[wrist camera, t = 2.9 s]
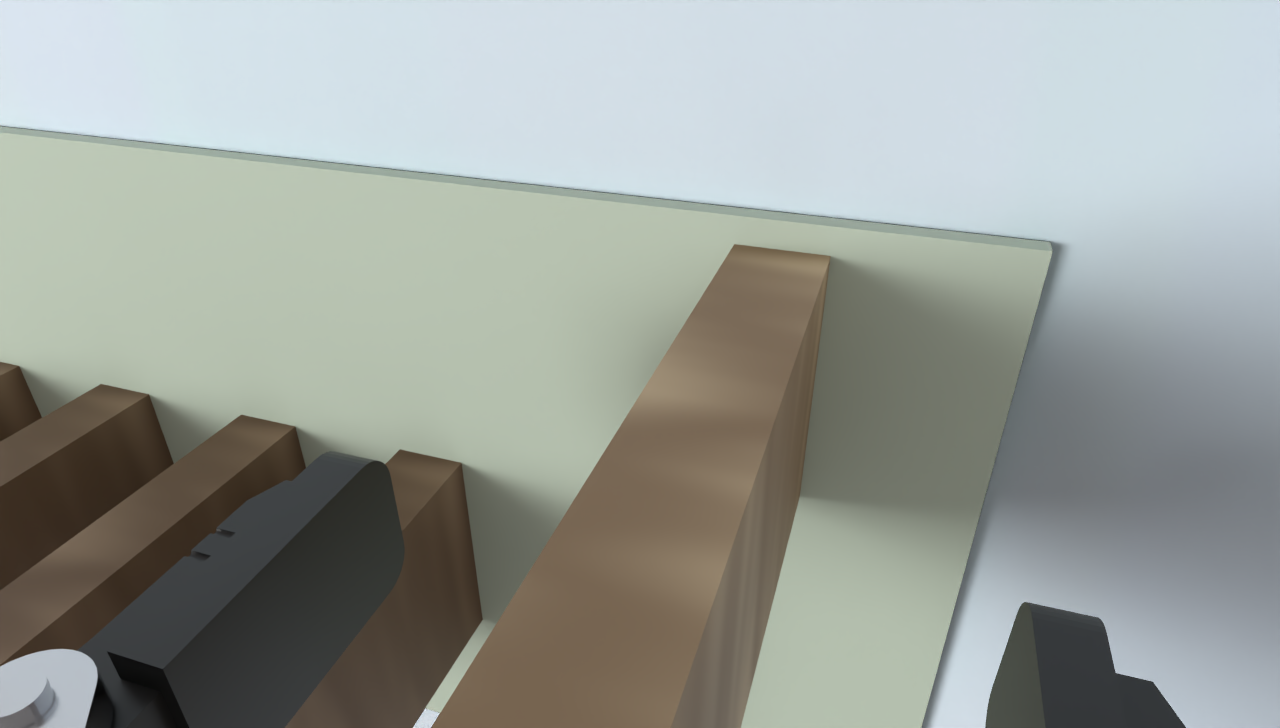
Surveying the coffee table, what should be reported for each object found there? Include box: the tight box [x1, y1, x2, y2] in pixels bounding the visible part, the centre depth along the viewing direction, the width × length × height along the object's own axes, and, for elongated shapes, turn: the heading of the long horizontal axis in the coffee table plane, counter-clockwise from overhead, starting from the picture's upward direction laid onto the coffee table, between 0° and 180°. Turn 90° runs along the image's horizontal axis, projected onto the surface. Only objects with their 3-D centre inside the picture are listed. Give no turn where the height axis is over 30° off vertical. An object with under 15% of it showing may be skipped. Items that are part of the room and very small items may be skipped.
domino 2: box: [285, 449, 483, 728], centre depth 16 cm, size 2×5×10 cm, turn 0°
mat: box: [0, 126, 1053, 728], centre depth 20 cm, size 30×16×1 cm, turn 90°
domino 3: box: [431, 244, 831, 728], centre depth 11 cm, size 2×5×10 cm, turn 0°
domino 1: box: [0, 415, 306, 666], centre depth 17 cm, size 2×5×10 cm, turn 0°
